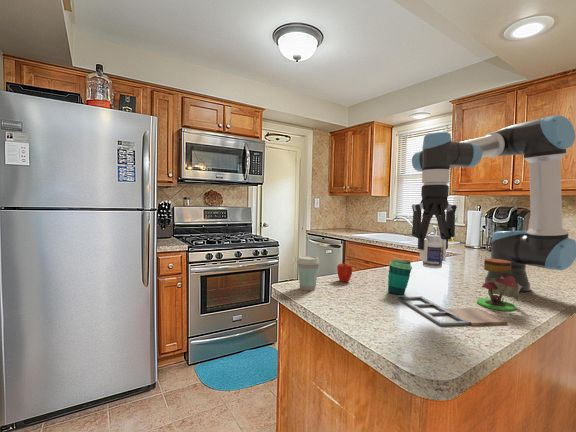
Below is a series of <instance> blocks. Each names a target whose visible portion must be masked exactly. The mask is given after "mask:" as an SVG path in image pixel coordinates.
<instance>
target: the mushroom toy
mask: <svg viewBox="0 0 576 432" xmlns="http://www.w3.org/2000/svg"><path fill="white" fill-rule="evenodd" d="M483 265H484V267H483V270H484V271H487V272H488V271H491V272H496V273H511V262H510V261H507V260H501V259H491V258H485V259H484V262H483ZM481 288H483V289H486V290H487V293H488V296H489V297H490V298H486V297H485V298H483V297H482V298H478V299H476V303H477V304H478V305H480V306H482V307H485V308H488V309H493V310H498V311H507V312H508V311H509V312H510V311H515V310H516V305H515V304H513V303H510V302H507V301H505V300H504V299H505V298H504V297H507V298H508V297H509V298H513V299H515V300H517V301H519V294H520V293H519V290H520V288H522V286H520V285H519V284H518V283H516V282H515V279H514V278H513V277H512V276H509V275H504V276H501V277H499V278H498V279H497V278H491V281H487V282H485V281H484V283H483V284H482V285H481ZM503 296H504V297H503Z"/></svg>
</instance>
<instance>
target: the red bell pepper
mask: <svg viewBox="0 0 576 432" xmlns="http://www.w3.org/2000/svg"><path fill="white" fill-rule="evenodd" d="M336 268H337V269H336V270H337V277H338V279H339V282H342V283H348V282H350V280H351V277H352V274H353V267H352V264H349V263H339V264H337V267H336Z"/></svg>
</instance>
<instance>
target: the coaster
mask: <svg viewBox="0 0 576 432" xmlns="http://www.w3.org/2000/svg"><path fill="white" fill-rule="evenodd" d="M445 309H446V310H448V311H450V312H452V313H454V314H456V315H458V316H460V317H462V318H463V319H465V320H467V321H469V322H471V324H470V325H469V326H471V327H478V326H479V327H480V326H501V325H508V321H507V320H506V319H503V318H501V317H498V316H497V315H494V314H492V313H490V312H487V311H485V310H483V309H481V308H479V307H464V308H462V307H460V308H459V307H458V308H445Z"/></svg>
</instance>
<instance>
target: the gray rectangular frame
mask: <svg viewBox="0 0 576 432" xmlns="http://www.w3.org/2000/svg"><path fill="white" fill-rule="evenodd" d="M397 300H398V301H399V302H401V303H403V304H404V305H406V306H407V307H409V308H411V309H412V310H413V311H416V313H418V314H420V315H422V316H423V317H424V318H427V319H428V320H430V321H431V322H433V323H434V324H436V325H437V326H439V327H454V326H455V327H459V326H460V327H462V326H471V325H470V324H471V322H469V321H467V320H465V319H463V318H462V317H460V316H458V315H456V314H454V313H452V312H450V311H448V310H446V309H447V308H444V307H443V306H441V305H438V304H437V303H435V302H433V301H431V300H429V299H428V298H425V297H423V296H422V295H421V296H397ZM414 300H415V301H418V300H419V301H422V302H423V303H411V302H410V301H414ZM422 308H434V309H435V310H438V311H425V310H423V309H422ZM435 316H437V317H435ZM438 316H449V317H451V318H452V319H454V321H453V320H452V321H443V320H442V321H441V319H438Z"/></svg>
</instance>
